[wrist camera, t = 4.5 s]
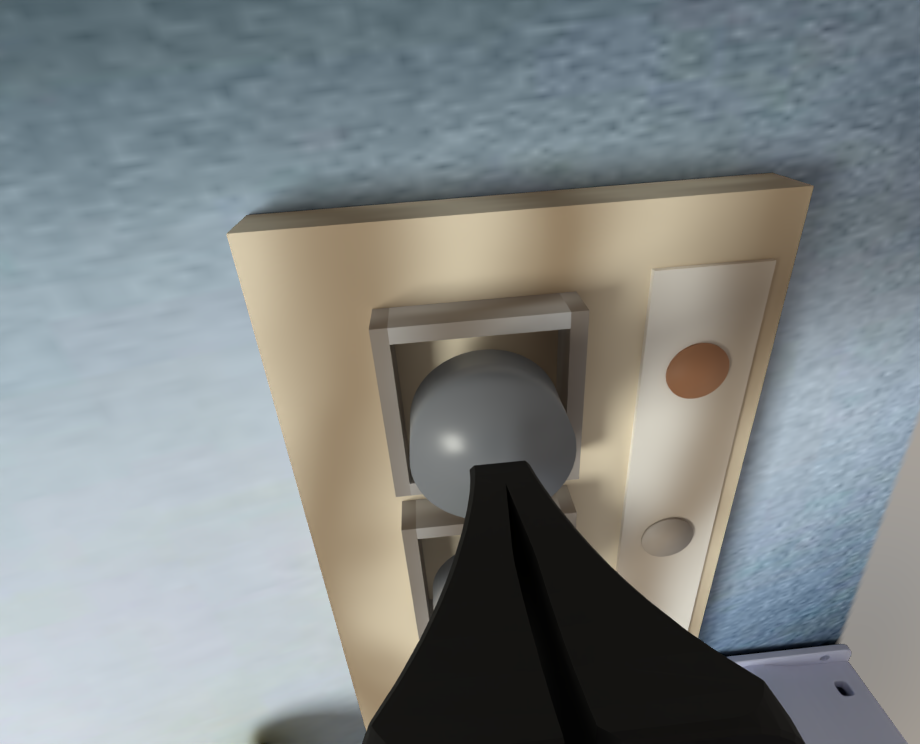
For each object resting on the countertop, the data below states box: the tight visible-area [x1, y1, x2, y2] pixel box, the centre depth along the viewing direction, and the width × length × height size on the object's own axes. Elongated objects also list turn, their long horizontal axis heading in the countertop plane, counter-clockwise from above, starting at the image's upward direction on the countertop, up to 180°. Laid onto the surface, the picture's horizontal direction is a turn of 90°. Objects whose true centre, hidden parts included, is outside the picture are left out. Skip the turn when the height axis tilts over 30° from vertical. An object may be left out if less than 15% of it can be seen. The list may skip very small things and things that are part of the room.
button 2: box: [410, 349, 577, 518], centre depth 15 cm, size 4×4×2 cm
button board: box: [227, 173, 814, 731], centre depth 21 cm, size 16×26×3 cm, turn 4°
